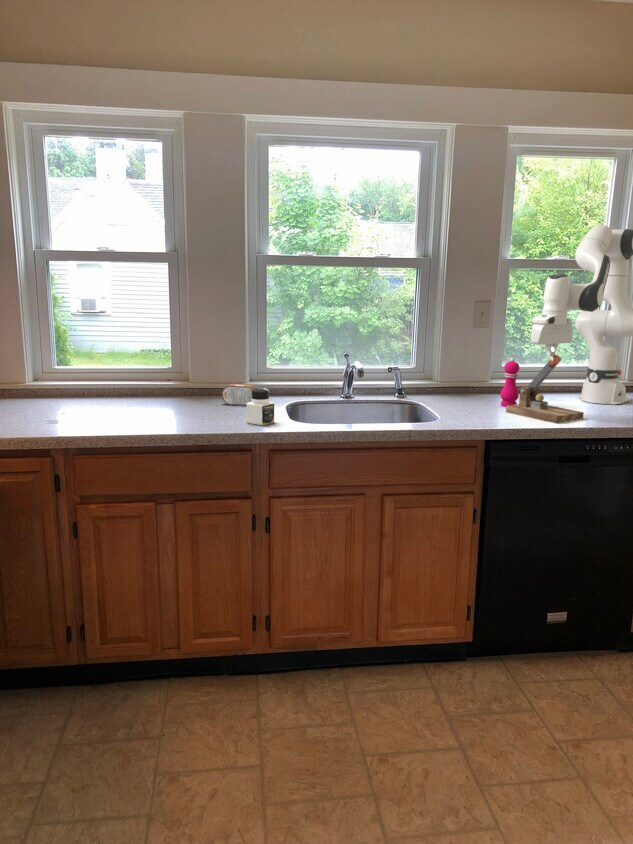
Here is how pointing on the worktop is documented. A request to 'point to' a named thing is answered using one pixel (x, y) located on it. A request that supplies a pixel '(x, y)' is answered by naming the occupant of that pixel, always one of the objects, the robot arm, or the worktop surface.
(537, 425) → the worktop surface
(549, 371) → the lever
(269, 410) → the medicine bottle
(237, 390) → the tin
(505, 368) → the pepper mill
